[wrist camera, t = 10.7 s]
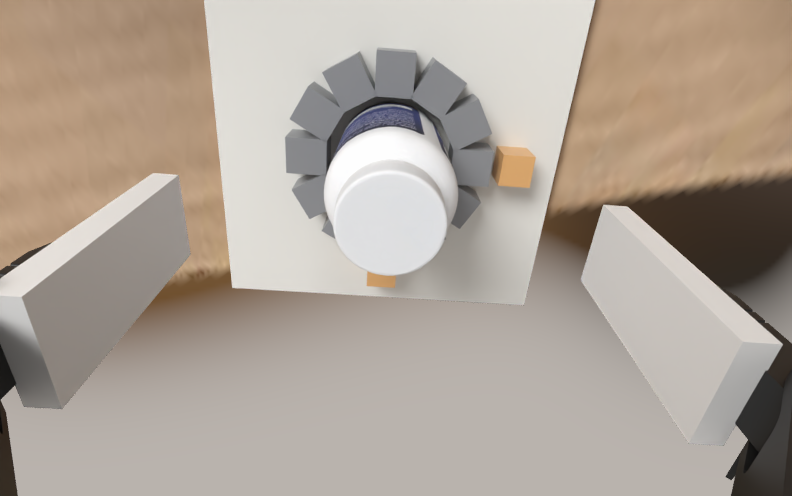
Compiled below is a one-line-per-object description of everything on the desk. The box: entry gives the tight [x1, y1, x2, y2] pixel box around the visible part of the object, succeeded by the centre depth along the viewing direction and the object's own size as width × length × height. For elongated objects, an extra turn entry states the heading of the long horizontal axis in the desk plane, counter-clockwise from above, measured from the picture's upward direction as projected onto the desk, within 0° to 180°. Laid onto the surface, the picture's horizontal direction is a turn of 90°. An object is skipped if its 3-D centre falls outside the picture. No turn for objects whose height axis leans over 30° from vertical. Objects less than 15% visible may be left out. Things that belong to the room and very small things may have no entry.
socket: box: [204, 0, 595, 305], centre depth 24 cm, size 18×18×2 cm
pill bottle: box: [324, 101, 458, 276], centre depth 20 cm, size 5×5×10 cm
